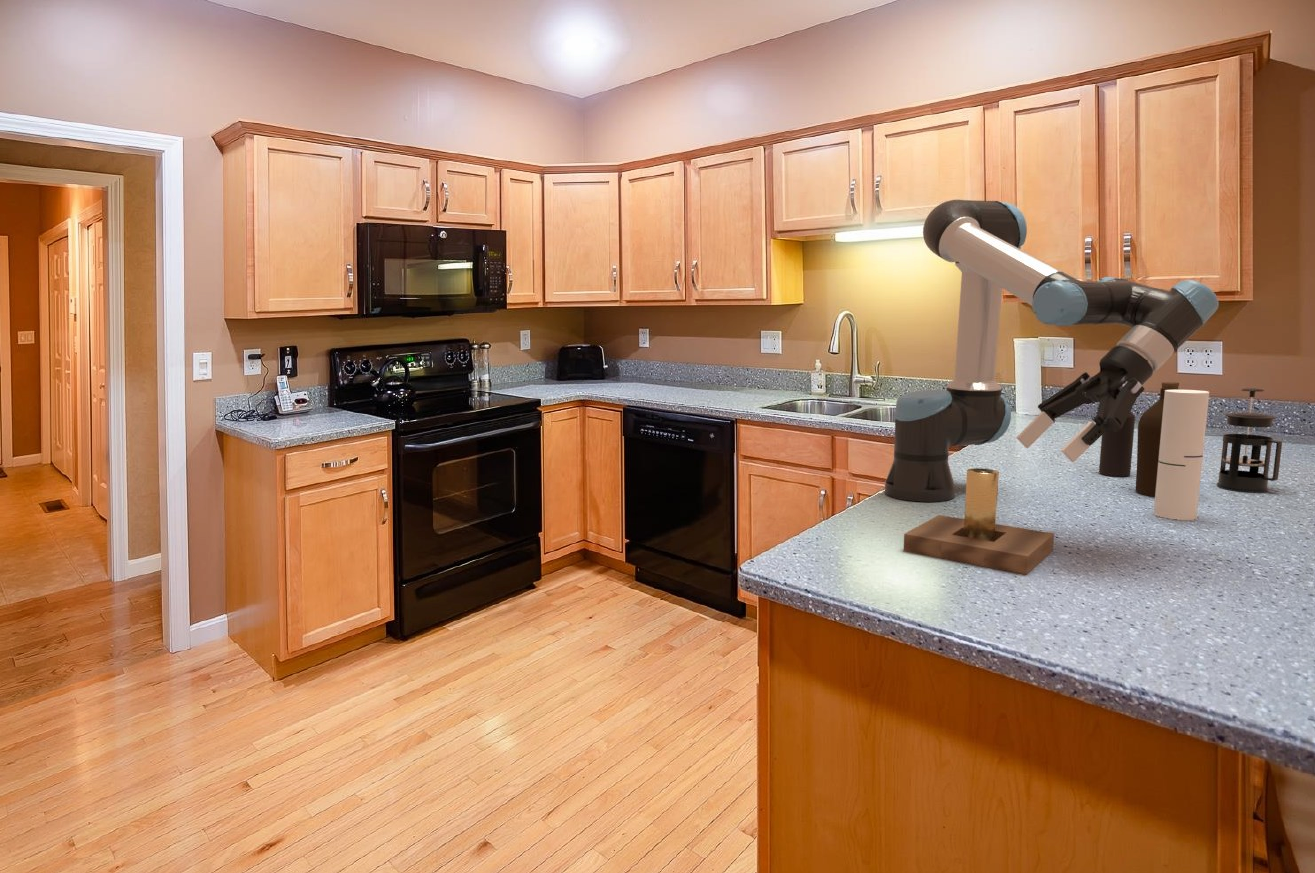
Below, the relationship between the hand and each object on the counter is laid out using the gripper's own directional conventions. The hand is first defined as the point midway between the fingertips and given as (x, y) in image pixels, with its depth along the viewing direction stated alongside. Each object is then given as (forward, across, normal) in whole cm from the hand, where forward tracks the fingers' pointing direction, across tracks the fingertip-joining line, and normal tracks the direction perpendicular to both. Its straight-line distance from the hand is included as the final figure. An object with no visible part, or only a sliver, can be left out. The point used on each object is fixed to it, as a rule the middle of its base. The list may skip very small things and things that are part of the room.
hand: (1043, 449), depth 129 cm
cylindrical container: (-15, +18, -40) cm, 46 cm away
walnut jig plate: (+20, 0, -5) cm, 20 cm away
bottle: (-24, +56, -49) cm, 78 cm away
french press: (-38, +38, -63) cm, 82 cm away
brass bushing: (+20, 0, -5) cm, 20 cm away
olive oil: (-22, +35, -47) cm, 63 cm away
